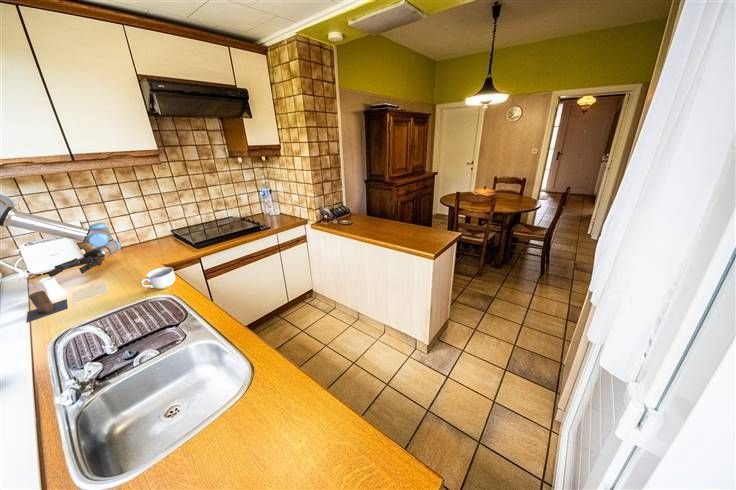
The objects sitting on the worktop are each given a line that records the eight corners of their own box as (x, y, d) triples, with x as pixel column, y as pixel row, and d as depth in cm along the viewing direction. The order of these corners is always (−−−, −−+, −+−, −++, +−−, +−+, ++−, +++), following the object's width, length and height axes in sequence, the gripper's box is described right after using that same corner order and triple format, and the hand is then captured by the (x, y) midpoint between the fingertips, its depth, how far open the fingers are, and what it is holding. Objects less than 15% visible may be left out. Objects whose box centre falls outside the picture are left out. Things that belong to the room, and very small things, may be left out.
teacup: (174, 277, 139) (168, 264, 136) (181, 284, 133) (175, 270, 129) (141, 290, 129) (135, 275, 126) (147, 297, 123) (141, 282, 120)
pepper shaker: (40, 311, 115) (28, 294, 112) (55, 306, 118) (44, 289, 115) (39, 315, 112) (27, 298, 109) (55, 310, 116) (44, 293, 112)
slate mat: (28, 313, 116) (27, 311, 116) (67, 300, 124) (66, 298, 124) (27, 324, 109) (26, 322, 108) (68, 310, 117) (67, 308, 116)
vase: (50, 303, 123) (38, 284, 119) (43, 299, 126) (31, 281, 122) (72, 294, 129) (61, 276, 125) (65, 291, 132) (54, 274, 128)
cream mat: (72, 293, 130) (71, 291, 130) (105, 282, 138) (104, 281, 138) (74, 305, 120) (73, 303, 120) (109, 293, 128) (108, 291, 128)
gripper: (124, 258, 155) (97, 275, 135) (75, 263, 151) (40, 282, 132) (118, 246, 152) (90, 262, 132) (68, 251, 148) (32, 269, 129)
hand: (65, 272), depth 132 cm, fingers open, 13 cm apart
